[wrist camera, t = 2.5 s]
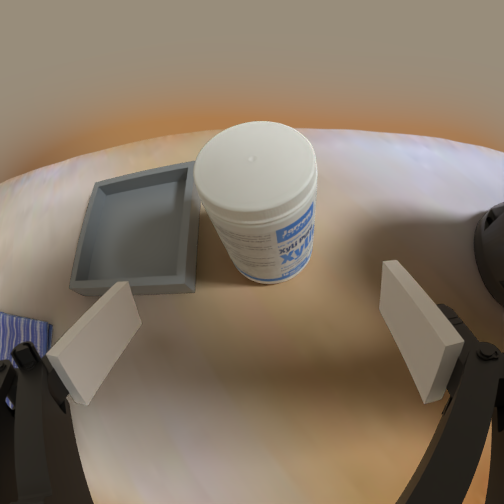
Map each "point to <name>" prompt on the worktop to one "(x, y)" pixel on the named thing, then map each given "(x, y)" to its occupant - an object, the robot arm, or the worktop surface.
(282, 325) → the worktop surface
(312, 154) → the supplement tub
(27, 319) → the dish towel
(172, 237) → the tray
